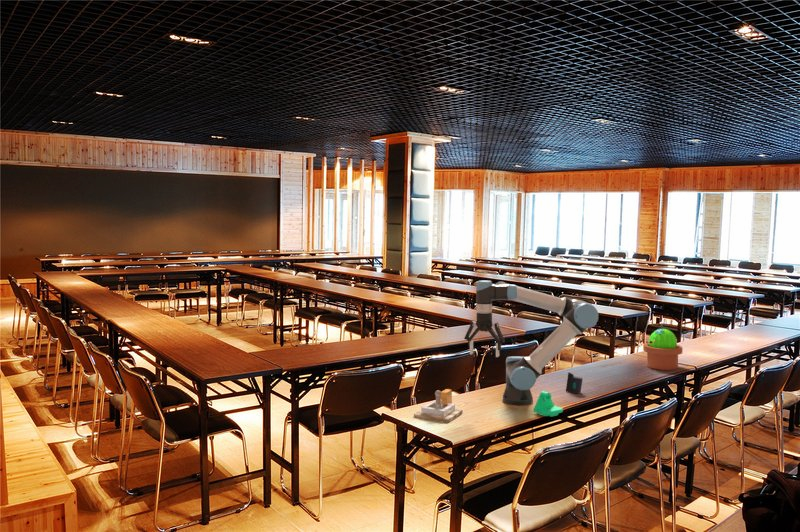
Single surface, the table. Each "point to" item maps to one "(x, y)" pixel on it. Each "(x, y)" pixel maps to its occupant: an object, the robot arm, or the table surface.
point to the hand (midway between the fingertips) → (484, 355)
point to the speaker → (574, 383)
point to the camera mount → (546, 405)
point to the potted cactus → (662, 350)
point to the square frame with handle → (445, 405)
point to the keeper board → (445, 419)
